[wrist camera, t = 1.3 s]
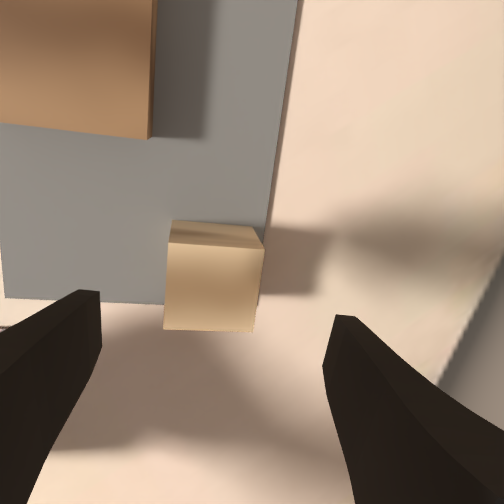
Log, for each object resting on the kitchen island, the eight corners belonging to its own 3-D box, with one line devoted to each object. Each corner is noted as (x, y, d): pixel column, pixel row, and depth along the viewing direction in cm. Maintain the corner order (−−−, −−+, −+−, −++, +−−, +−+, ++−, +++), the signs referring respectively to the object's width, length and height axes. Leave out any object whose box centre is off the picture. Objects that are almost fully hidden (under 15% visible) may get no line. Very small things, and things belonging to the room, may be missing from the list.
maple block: (242, 297, 23) (252, 332, 19) (167, 293, 22) (162, 329, 19) (252, 226, 22) (265, 249, 18) (172, 219, 21) (168, 242, 17)
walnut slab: (152, 137, 19) (146, 139, 17) (0, 118, 18) (-28, 119, 16) (159, -25, 17) (153, -47, 15) (-15, -60, 16) (-50, -90, 13)
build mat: (252, 306, 24) (253, 308, 24) (7, 295, 21) (5, 297, 21) (300, -32, 18) (302, -34, 18) (-28, -103, 15) (-32, -108, 15)
